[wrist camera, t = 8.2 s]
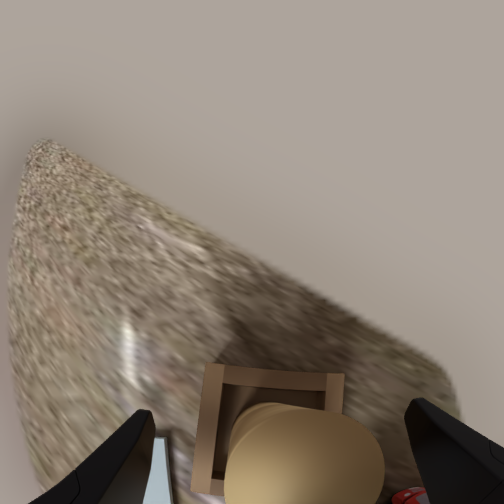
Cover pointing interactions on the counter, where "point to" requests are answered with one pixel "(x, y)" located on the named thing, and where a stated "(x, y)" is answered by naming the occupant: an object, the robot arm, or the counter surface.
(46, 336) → the counter surface
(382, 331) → the counter surface
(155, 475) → the plate
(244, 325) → the counter surface
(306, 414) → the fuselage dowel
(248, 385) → the square wooden tray
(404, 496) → the toy fire truck
